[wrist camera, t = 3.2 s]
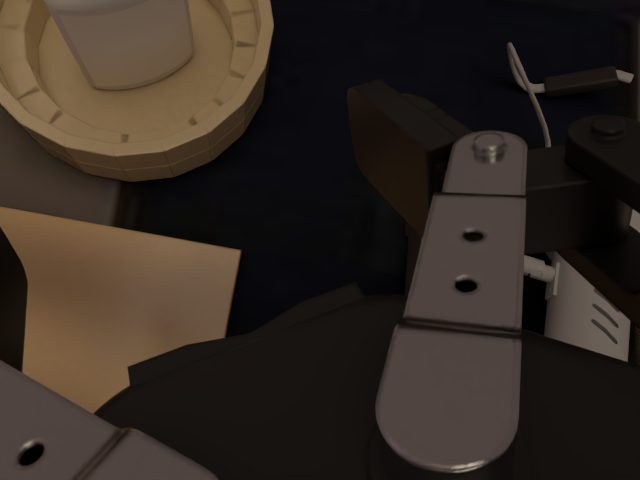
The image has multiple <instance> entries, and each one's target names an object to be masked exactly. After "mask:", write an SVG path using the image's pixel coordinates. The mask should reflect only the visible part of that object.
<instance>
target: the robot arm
mask: <svg viewBox="0 0 640 480" xmlns="http://www.w3.org/2000/svg"><path fill="white" fill-rule="evenodd" d="M347 101H348V109H349V117H350V125H351V132H352V140H353V148H354V154H355V158H356V161H357V164H358V166H359V168H360V170H361V172H362V173H363V175H364V176H365V177H366V178H367V179H368V180H369V181H370V182H371V184H372V185H373V186H374V187H375V188H376V189H377V190H378V191H379V192H380V193H381V194H382V196H383V197H384V198H385V199H386V200H387V201H388V202H389V203H390V204H391V205H392V206H393V208H394V209H395V210H396V211H397V212H398V213H399V214H400V215H401V216H402V217H403V218H404V219H405V221H406V222H407V223H408V224H409V225H410V226H411V227H412V228H413V229H414V230H415V231H416V233H417V234H418V235H419V236H420V237H421V238H422V242H421V246H420V250H419V254H418V258H417V262H416V266H415V270H414V274H413V278H412V282H411V287H410V291H409V295H401V294H380V295H370V296H365V295H364V294H363V292H362V291H361V289H360V288H359V286H358V285H357V283H356V282H354V283H351V284H348V285H346V286H343V287H340V288H338V289H335V290H332V291H330V292H327V293H324V294H322V295H319V296H316V297H313V298H311V299H308V300H305V301H303V302H301V303H299V304H298V305H296V306H294V307H293V308H291V309H289V310H288V311H286V312H285V313H283V314H281V315H280V316H278V317H276V318H275V319H273V320H271V321H270V322H268V323H266V324H265V325H263V326H261V327H260V328H258V329H256V330H255V331H253V332H250V333H248V334H243V335H238V336H232V337H227V338H221V339H215V340H210V341H204V342H199V343H193V344H187V345H184V346H182V347H179V348H176V349H174V350H171V351H168V352H166V353H163V354H160V355H158V356H155V357H152V358H150V359H147V360H144V361H141V362H139V363H136V364H133V365H131V366H128V375H129V382H130V385H129V386H128V387H126V388H125V389H123V390H121V391H120V392H119V393H117V394H116V395H114V396H113V397H112V398H110V399H109V400H108V401H107V402H105V403H104V404H103V405H102V406H101V407H100V408H99V409H97V410H96V411H95V412H94V413H91V412H89V411H87V410H86V409H84V408H82V407H80V406H79V405H77V404H75V403H74V402H72V401H70V400H68V399H67V398H65V397H63V396H61V395H60V394H58V393H56V392H55V391H53V390H51V389H49V388H48V387H46V386H44V385H42V384H41V383H39V382H37V381H36V380H34V379H32V378H30V377H29V376H27V375H25V374H24V373H22V370H23V354H24V339H25V324H26V309H27V294H28V281H27V276H26V273H25V270H24V267H23V265H22V262H21V260H20V258H19V257H18V255H17V253H16V252H15V250H14V248H13V247H12V245H11V243H10V242H9V240H8V238H7V237H6V235H5V233H4V232H3V230H2V228H1V227H0V480H640V366H639V365H636V364H633V363H630V362H626V361H623V360H620V359H617V358H614V357H610V356H607V355H604V354H601V353H598V352H594V351H591V350H588V349H585V348H582V347H579V346H575V345H572V344H569V343H566V342H563V341H559V340H556V339H553V338H550V337H547V336H544V335H540V334H537V333H534V332H531V331H528V330H525V329H521V324H522V298H523V273H524V255H528V254H536V253H544V252H553V251H557V253H558V254H559V255H560V256H561V257H562V258H563V259H564V260H565V261H566V262H567V263H568V264H570V265H571V266H572V267H573V268H574V269H575V270H576V271H577V272H578V273H579V274H580V275H581V276H583V277H584V278H585V279H586V280H587V281H588V282H589V283H590V284H591V285H592V286H593V287H594V288H595V289H597V290H598V291H599V292H600V293H601V294H602V295H603V296H604V297H605V298H606V299H607V300H608V301H610V302H611V303H612V304H613V305H614V306H615V307H616V308H617V309H618V310H619V311H620V312H621V313H622V314H624V315H625V316H626V317H627V318H628V319H629V320H630V321H631V322H632V323H633V324H634V325H635V326H637V327H638V328H639V329H640V232H638V231H637V230H636V229H634V228H633V227H632V226H630V221H631V216H632V211H633V209H634V210H635V211H636V212H638V213H639V214H640V122H638V121H636V120H633V119H630V118H627V117H623V116H616V115H594V116H588V117H584V118H581V119H578V120H576V121H574V122H573V123H572V124H571V125H570V126H569V127H568V131H567V139H566V145H559V146H552V147H545V148H537V149H527V144H526V143H525V141H524V140H523V139H522V138H520V137H519V136H517V135H514V134H511V133H508V132H504V131H492V130H491V131H479V132H473V131H472V130H470V129H469V128H467V127H466V126H464V125H463V124H462V123H460V122H459V121H457V120H456V119H454V118H453V117H452V116H448V114H447V113H446V112H444V111H443V110H442V109H440V108H439V109H438V107H437V106H436V105H434V104H433V103H432V102H430V101H429V100H427V99H426V98H423V97H420V96H416V95H412V94H409V93H404V94H400V93H399V92H397V91H396V90H395V89H393V88H392V87H390V86H389V85H388V84H386V83H385V82H384V81H382V80H380V79H378V80H375V81H372V82H368V83H365V84H362V85H358V86H355V87H352V88H349V90H348V93H347Z"/></svg>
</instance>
